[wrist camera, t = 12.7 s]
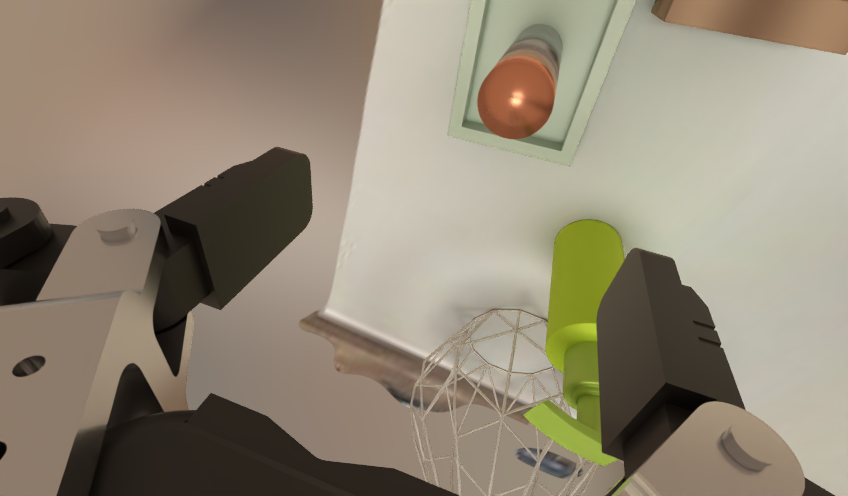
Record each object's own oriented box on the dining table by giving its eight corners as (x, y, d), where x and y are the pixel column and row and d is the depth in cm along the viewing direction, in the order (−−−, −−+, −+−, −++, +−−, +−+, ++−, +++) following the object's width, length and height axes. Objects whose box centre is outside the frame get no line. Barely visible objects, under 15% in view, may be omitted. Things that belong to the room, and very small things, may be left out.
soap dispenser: (571, 202, 35) (565, 394, 19) (637, 241, 35) (683, 462, 20) (532, 245, 38) (502, 435, 23) (592, 280, 39) (601, 492, 23)
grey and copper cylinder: (570, 29, 27) (565, 70, 17) (553, 82, 29) (540, 146, 19) (519, 19, 27) (486, 53, 17) (506, 72, 29) (470, 129, 20)
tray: (653, -59, 24) (660, -61, 22) (570, 154, 32) (569, 166, 30) (492, -84, 25) (486, -87, 23) (454, 126, 34) (447, 135, 32)
